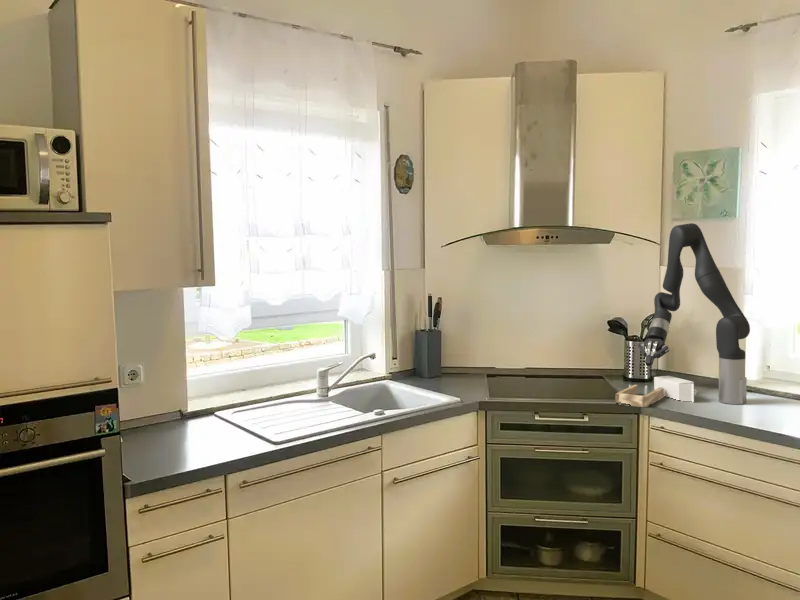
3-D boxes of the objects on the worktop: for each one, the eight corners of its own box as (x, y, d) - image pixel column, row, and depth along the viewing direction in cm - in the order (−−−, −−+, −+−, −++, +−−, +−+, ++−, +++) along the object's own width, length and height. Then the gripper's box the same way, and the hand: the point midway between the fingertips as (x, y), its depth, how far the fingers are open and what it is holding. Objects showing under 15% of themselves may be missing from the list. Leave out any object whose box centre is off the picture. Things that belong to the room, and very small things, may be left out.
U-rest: (663, 397, 275) (663, 387, 274) (646, 407, 259) (646, 397, 259) (634, 394, 282) (634, 384, 282) (615, 403, 266) (615, 393, 266)
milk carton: (653, 393, 282) (686, 403, 264) (653, 376, 281) (686, 385, 263) (668, 392, 284) (701, 401, 266) (668, 375, 283) (701, 383, 265)
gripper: (640, 325, 287) (629, 358, 279) (672, 326, 279) (662, 360, 271) (644, 336, 292) (634, 368, 283) (676, 337, 284) (666, 371, 275)
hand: (648, 364), depth 277 cm, fingers closed
